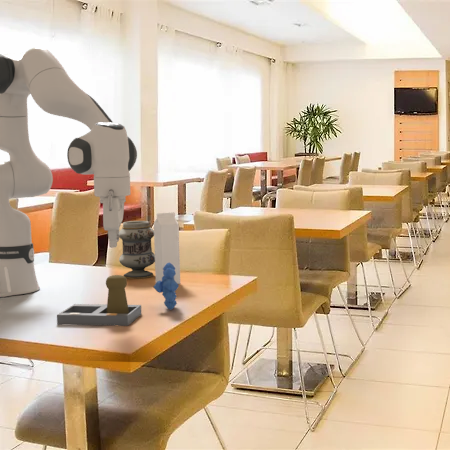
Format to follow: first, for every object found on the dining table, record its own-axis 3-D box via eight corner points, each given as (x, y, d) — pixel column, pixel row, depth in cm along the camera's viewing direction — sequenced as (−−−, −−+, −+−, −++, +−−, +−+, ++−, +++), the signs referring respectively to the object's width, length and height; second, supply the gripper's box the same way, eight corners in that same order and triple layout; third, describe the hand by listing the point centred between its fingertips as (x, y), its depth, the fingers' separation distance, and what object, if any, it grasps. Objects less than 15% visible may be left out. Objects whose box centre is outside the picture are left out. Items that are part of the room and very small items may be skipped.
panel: (57, 324, 185) (56, 314, 184) (74, 313, 196) (74, 303, 196) (128, 325, 182) (127, 315, 181) (141, 314, 193) (141, 304, 193)
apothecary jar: (137, 271, 256) (135, 219, 254) (164, 274, 249) (162, 220, 247) (112, 277, 247) (109, 222, 244) (139, 280, 240) (137, 224, 237)
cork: (128, 321, 186) (126, 277, 185) (103, 321, 186) (101, 278, 185) (131, 315, 192) (129, 273, 191) (108, 316, 192) (106, 273, 191)
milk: (155, 283, 235) (152, 212, 233) (173, 280, 238) (170, 211, 236) (162, 286, 230) (159, 214, 227) (181, 283, 233) (178, 212, 230)
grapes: (154, 304, 205) (152, 260, 203) (178, 303, 205) (177, 259, 204) (154, 313, 193) (152, 267, 192) (180, 312, 194) (179, 266, 193)
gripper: (123, 191, 175) (125, 250, 176) (126, 185, 195) (128, 238, 197) (95, 192, 174) (98, 251, 176) (102, 186, 194) (104, 239, 196)
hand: (114, 244), depth 186 cm, fingers open, 8 cm apart
